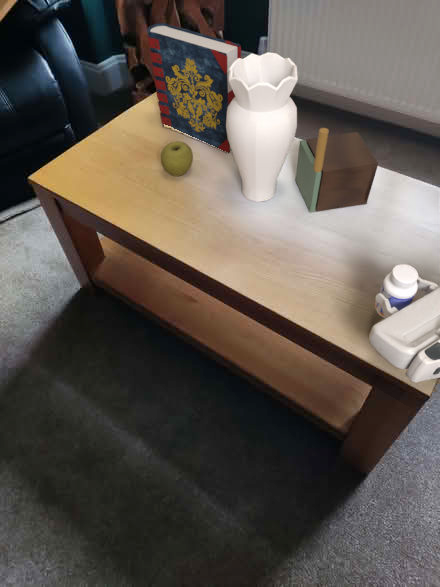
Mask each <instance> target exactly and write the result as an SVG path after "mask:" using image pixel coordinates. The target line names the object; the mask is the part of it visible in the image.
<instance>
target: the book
mask: <svg viewBox="0 0 440 587" xmlns="http://www.w3.org/2000/svg"><path fill="white" fill-rule="evenodd" d="M146 32H147V33H146V38H147V44H148V47H149V49H148V50H149V51H148V52H149V57H150V61H151V68H152V73H153V75H154V76H153V80H154V86H155V88H156V89H155V92H156V97H157V100H158V101H157V104H158V110H159V116H160V121H161V123H162V125H163V124H165V125H168V126H171V127H173V128H174V129H177V130H179V131H181V132H183V133H186V134H188V135H190V136H192V137H195V138H197V139H199V140H201V141H204V142H206V143H208V144H210V145H213V146H215V147H217V148H219V149H221V150H223V151H222V152H224V151H226V152H225V153H227V152H228V153H227V154H230V153H231V147H230V144H229V141H228V137H227V130H226V118H227V108H228V106H229V104H230V103H231V101H232V100H233V98H234V97H235V94H234V92H233V90H232V87H231V85H230V83H229V74H228V72H227V71H228V70H229V68H230V67H231V65H232V64H233V62H234V61H236V60H237V59H238V58H241V59H242V47H241V44H240V43H236V42H234V41H233V42H232V41H230V40H227V39H222V38H218V37H215V36H211V35H207V34H204V33H200V32H196V31H193V30H190V29H186V28H183V27H178V26H176V25H172V24H169V23H167V22H161V23H160V22H159V23H154V24H151V25H149V26H148V27H147V28H146ZM210 145H209V146H210ZM215 147H214V148H215ZM217 148H216V149H217ZM219 149H218V150H219ZM221 150H220V151H221ZM229 152H230V153H229Z"/></svg>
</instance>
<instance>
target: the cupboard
mask: <svg viewBox="0 0 440 587" xmlns="http://www.w3.org/2000/svg"><path fill="white" fill-rule="evenodd" d="M305 141H306V143H307V145H308V147H309V149H310V151H311V153H312V155H313V156H314V158H315V154H316V148H317V141H318V137H314V138H313V137H312V138H307V139H305ZM378 167H379V162H378V161H377V158H376V157H375V156H374V154H373V153H372V151H371V150H370V149H369V147H368V145H367V144H366V143H365V141H364V140H363V137H361V135H360V133H359V132H358V131H355V132H349V133H341V134H333V135H328V138H327V144H326V150H325V155H324V161H323V167H322V171H321V172H322V173H321V179H320V185H319V191H318V196H317V202H316V208H315V212H324V211H331V210H336V209H337V210H338V209H343V208H349V207H356V206H363V205H367V204H368V200H369V197H370V194H371V190H372V186H373V185H374V184H373V183H374V180H375V176H376V173H377V170H378Z"/></svg>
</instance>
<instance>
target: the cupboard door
mask: <svg viewBox="0 0 440 587" xmlns="http://www.w3.org/2000/svg"><path fill="white" fill-rule="evenodd" d="M329 130H330V129H328V128H327V127H320V129H318V135H317V138H318V141H317V148H316V154H315V158H314V156H313V155H312V153H311V151H310V149H309V147H308V145H307V143H306V139H301V140H299V143H298V154H297V161H296V171H295V179H294V181H295V183H296V184H297V187H298V189H299V192H300V194H301V195H302V198H303V201H304V202H305V204H306V207H307V208H308V211H309V213H314V212H316V210H315V208H316V202H317V196H318V191H319V185H320V179H321V173H322V172H321V171H322V167H323V161H324V155H325V150H326V144H327V138H328V136H329Z"/></svg>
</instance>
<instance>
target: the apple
mask: <svg viewBox="0 0 440 587" xmlns="http://www.w3.org/2000/svg"><path fill="white" fill-rule="evenodd" d="M193 159H194V156H193V151H192V148H191V147H190V146H189V145H188V144H187V143H185V142H182V141H172V142H169V143H167V144H165V146H164V147H163V148H162V150H161V152H160V162H161V166H162V167H163V169H164V171H165V172H166V173H168V174H169V175H170V176H173V177H180V176H184V175H185V174H187V173H188V172H189V170H190V169H191V168H192V165H193V161H194V160H193Z"/></svg>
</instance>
